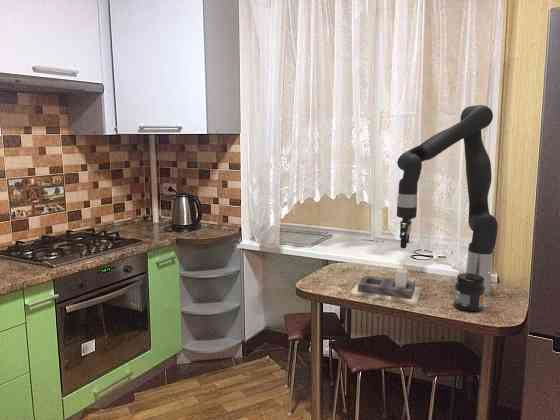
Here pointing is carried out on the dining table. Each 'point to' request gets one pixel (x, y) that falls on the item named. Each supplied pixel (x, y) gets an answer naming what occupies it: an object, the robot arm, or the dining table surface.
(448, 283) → the dining table surface
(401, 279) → the white rectangular block
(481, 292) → the supplement container
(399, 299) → the socket board
